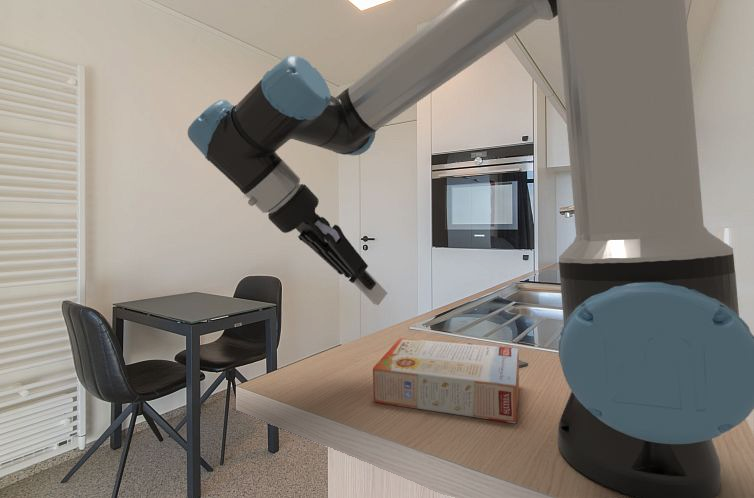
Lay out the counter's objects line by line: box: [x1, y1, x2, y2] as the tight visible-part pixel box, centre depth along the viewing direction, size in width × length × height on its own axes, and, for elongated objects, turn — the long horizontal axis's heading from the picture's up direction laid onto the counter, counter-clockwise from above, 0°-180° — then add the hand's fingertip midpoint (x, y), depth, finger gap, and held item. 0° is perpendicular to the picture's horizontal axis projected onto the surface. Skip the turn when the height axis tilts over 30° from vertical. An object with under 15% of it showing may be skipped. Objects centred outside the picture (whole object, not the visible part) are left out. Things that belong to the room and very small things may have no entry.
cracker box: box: [372, 337, 520, 424], centre depth 63 cm, size 14×6×21 cm
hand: (380, 298), depth 68 cm, fingers closed
